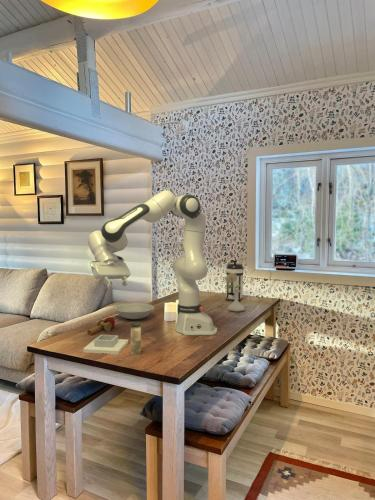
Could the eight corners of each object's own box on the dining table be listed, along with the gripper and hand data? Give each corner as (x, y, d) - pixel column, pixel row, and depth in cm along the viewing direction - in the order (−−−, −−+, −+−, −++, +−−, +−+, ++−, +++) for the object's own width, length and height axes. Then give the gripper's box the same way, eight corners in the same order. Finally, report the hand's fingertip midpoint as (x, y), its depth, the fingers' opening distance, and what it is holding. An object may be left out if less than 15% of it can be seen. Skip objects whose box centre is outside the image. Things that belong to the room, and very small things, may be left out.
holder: (128, 342, 178) (128, 333, 178) (118, 354, 163) (118, 344, 162) (96, 341, 180) (95, 331, 180) (82, 352, 164) (82, 342, 164)
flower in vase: (244, 309, 251) (245, 272, 249) (245, 313, 240) (246, 274, 238) (224, 308, 252) (225, 271, 250) (224, 312, 241) (225, 274, 239)
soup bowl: (138, 325, 208) (138, 314, 207) (105, 319, 219) (105, 308, 219) (162, 316, 229) (162, 305, 228) (130, 311, 240) (130, 301, 240)
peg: (142, 351, 167) (142, 321, 166) (139, 355, 162) (139, 324, 161) (131, 350, 167) (131, 321, 166) (129, 354, 163) (129, 324, 162)
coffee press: (219, 299, 283) (220, 259, 281) (237, 297, 290) (238, 258, 287) (231, 303, 267) (232, 261, 265) (250, 301, 274) (251, 261, 272)
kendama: (96, 339, 188) (119, 325, 203) (93, 327, 187) (117, 314, 202) (85, 339, 192) (109, 326, 207) (82, 327, 191) (106, 315, 206)
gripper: (92, 256, 166) (104, 282, 161) (125, 257, 183) (137, 281, 178) (85, 264, 169) (96, 290, 164) (118, 265, 186) (129, 288, 180)
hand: (118, 285), depth 171 cm, fingers open, 8 cm apart
